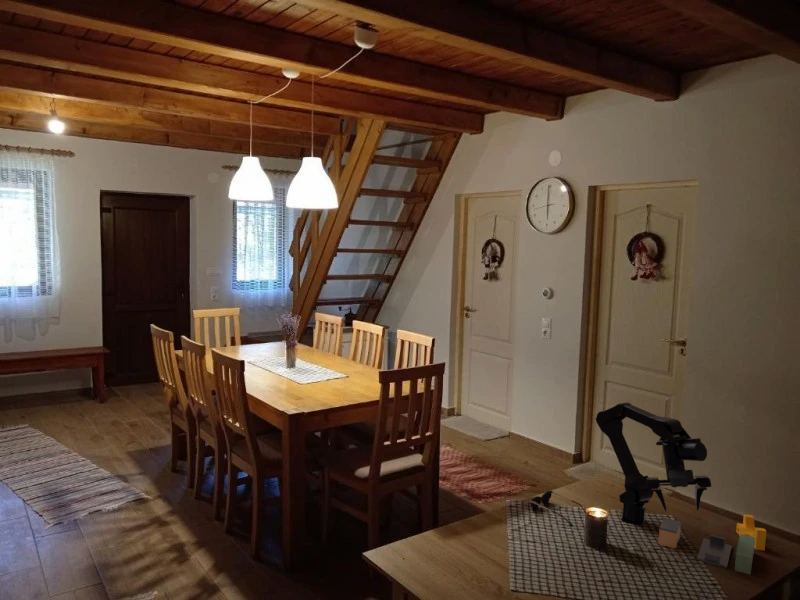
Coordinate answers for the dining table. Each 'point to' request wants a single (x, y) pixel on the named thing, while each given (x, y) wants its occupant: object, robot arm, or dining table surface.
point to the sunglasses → (545, 499)
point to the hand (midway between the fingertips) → (681, 510)
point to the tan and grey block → (669, 533)
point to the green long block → (744, 554)
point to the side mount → (715, 551)
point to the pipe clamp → (752, 531)
